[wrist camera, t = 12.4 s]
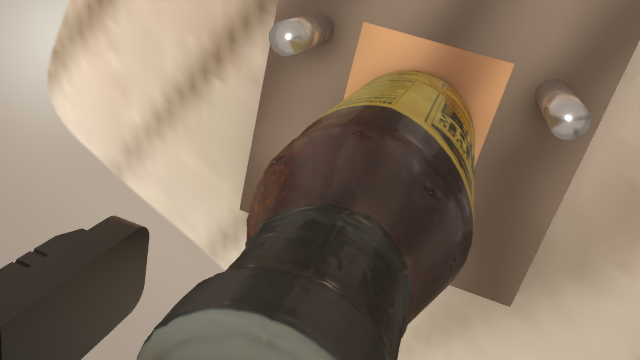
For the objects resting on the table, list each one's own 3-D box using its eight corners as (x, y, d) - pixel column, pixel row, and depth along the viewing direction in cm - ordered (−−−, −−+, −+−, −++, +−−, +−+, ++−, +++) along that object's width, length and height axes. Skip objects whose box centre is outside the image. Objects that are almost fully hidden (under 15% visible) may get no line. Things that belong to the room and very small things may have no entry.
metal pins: (574, 84, 23) (598, 108, 18) (484, 284, 27) (485, 343, 23) (309, 9, 25) (272, 16, 20) (268, 207, 29) (230, 247, 25)
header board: (650, -1, 22) (659, 0, 21) (509, 294, 28) (510, 307, 27) (303, -87, 25) (294, -90, 23) (247, 201, 31) (238, 210, 30)
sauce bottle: (464, 194, 26) (436, 668, 8) (344, 177, 27) (95, 543, 9) (485, 63, 23) (512, 323, 6) (352, 52, 25) (38, 229, 7)
